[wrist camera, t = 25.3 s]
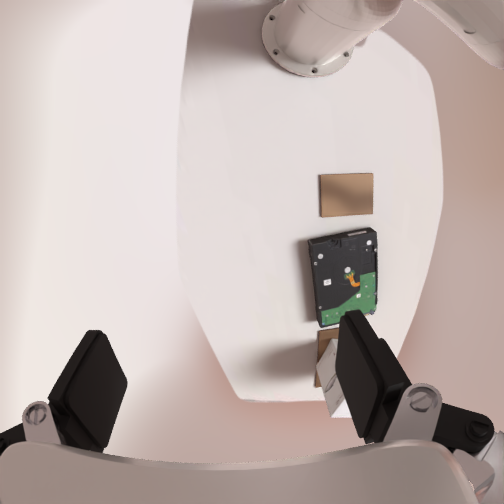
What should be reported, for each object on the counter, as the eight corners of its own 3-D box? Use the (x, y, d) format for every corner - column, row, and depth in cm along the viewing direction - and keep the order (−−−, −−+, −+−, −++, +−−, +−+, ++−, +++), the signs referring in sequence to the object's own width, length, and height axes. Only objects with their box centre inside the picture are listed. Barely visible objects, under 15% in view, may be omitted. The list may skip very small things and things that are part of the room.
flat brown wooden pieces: (320, 174, 38) (320, 175, 38) (372, 173, 38) (373, 173, 38) (315, 386, 53) (315, 387, 53) (352, 379, 54) (352, 380, 53)
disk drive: (305, 238, 42) (316, 320, 47) (309, 245, 40) (320, 329, 45) (369, 225, 42) (372, 305, 47) (377, 230, 39) (378, 314, 44)
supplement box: (330, 336, 48) (352, 388, 36) (364, 342, 49) (389, 390, 38) (313, 366, 51) (329, 418, 39) (346, 370, 52) (366, 418, 40)
